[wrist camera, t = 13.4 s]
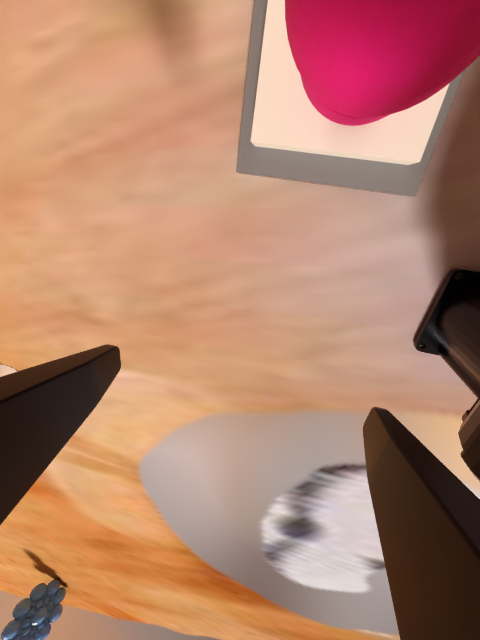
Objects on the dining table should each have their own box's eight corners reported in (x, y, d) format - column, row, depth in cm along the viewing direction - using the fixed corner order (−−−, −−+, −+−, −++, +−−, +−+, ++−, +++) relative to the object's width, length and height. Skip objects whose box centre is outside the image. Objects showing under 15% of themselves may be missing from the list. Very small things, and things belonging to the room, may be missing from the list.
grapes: (31, 565, 61) (-25, 642, 50) (51, 567, 59) (-3, 648, 48) (59, 591, 65) (12, 667, 55) (79, 593, 63) (34, 674, 52)
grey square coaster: (408, 196, 17) (427, 196, 14) (239, 173, 18) (230, 169, 15) (524, -112, 11) (589, -199, 9) (271, -111, 13) (265, -187, 10)
